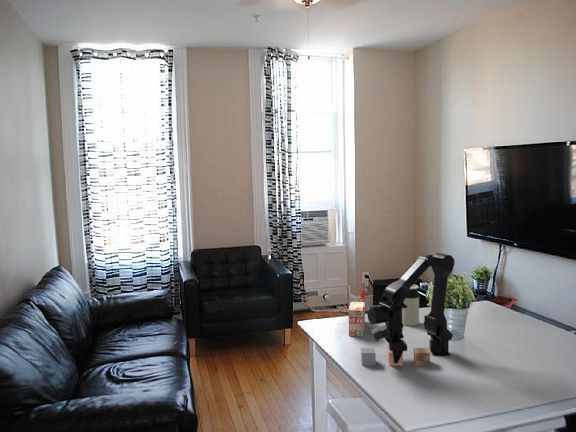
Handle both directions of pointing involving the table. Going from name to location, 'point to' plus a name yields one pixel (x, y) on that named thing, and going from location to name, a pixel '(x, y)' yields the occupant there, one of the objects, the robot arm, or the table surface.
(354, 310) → the stack of blocks
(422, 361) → the walnut cube
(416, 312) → the travel mug
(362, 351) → the grey cube
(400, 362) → the terracotta cube
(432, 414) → the table surface
